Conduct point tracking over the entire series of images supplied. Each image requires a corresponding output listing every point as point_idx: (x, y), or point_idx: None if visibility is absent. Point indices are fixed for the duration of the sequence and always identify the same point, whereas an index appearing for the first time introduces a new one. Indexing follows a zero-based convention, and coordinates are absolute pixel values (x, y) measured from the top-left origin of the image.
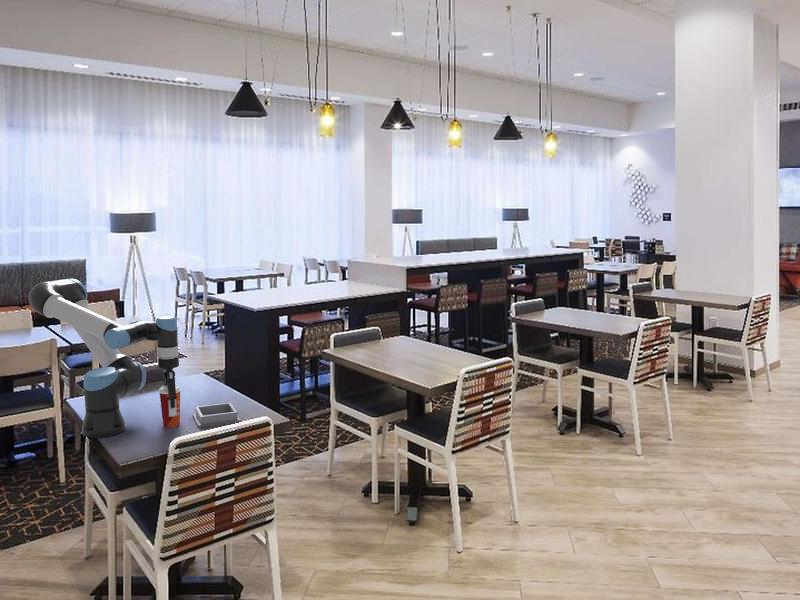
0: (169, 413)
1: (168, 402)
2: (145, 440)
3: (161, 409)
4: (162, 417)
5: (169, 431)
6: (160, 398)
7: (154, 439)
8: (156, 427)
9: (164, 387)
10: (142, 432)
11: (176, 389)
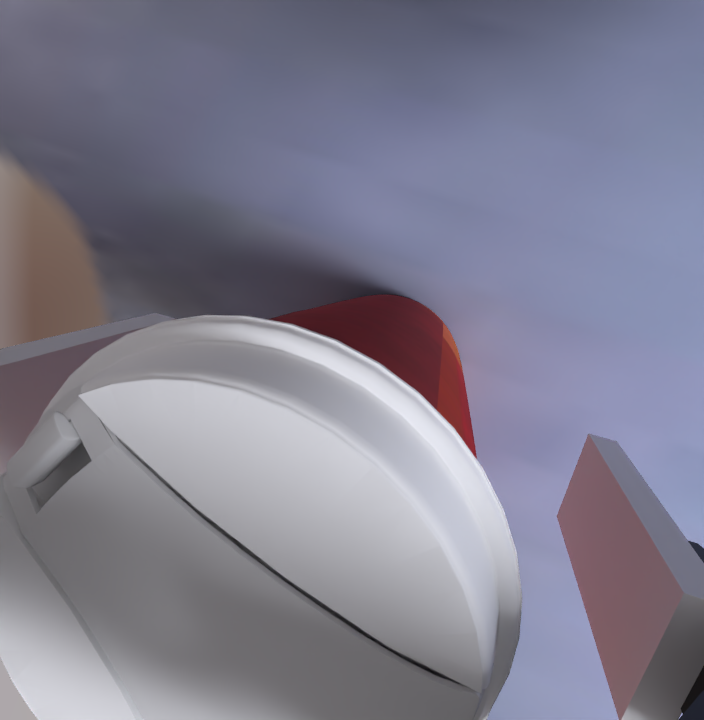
0: (131, 321)
1: (34, 353)
2: (117, 33)
3: (373, 307)
4: (382, 298)
5: (233, 287)
6: (297, 320)
7: (107, 113)
8: (407, 227)
9: (297, 552)
10: (342, 60)
11: (22, 669)
